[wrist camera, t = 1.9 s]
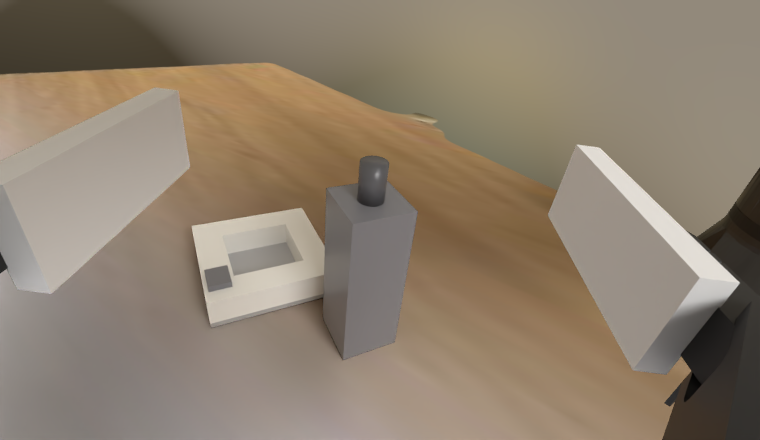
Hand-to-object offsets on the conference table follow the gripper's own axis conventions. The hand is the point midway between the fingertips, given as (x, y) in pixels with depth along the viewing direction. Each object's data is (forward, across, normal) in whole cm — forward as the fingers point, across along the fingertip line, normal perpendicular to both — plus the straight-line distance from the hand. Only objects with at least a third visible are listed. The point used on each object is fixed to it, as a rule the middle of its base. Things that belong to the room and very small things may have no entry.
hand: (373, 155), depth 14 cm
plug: (+13, 0, -23) cm, 26 cm away
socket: (+19, -11, -23) cm, 32 cm away
